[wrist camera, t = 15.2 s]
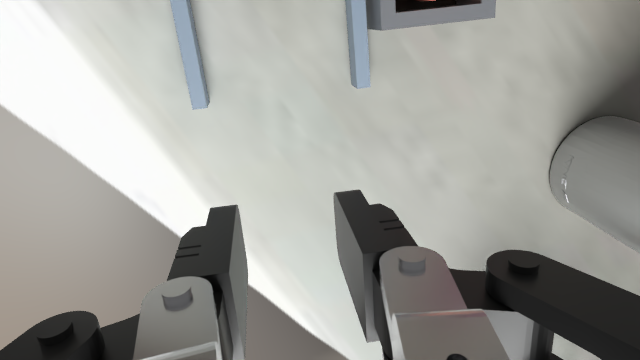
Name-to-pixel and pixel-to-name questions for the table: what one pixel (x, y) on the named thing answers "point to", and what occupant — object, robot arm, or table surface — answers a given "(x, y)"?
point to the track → (194, 63)
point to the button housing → (425, 14)
